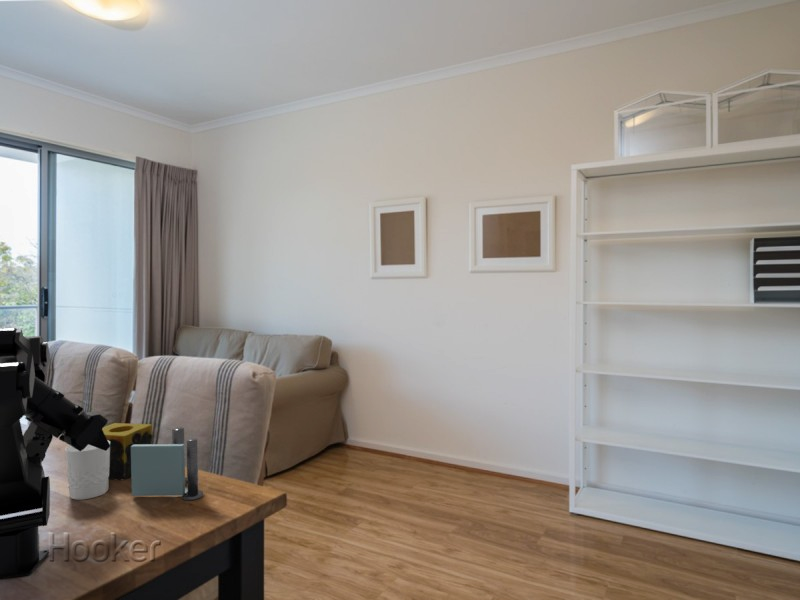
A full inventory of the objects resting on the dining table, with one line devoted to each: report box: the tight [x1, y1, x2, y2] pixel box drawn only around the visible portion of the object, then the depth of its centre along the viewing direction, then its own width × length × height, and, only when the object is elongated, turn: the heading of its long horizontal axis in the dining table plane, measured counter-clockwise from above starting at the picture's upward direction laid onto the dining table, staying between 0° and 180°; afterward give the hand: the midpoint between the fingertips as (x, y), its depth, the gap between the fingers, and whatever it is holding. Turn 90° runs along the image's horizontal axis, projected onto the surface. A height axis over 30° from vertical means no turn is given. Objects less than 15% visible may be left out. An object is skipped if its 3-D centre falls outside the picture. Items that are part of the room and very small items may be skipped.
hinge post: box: [181, 438, 204, 502], centre depth 101 cm, size 4×4×12 cm
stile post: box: [171, 426, 187, 483], centre depth 109 cm, size 3×3×12 cm
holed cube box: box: [102, 422, 153, 481], centre depth 115 cm, size 10×10×10 cm
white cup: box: [64, 440, 110, 501], centre depth 103 cm, size 8×8×10 cm
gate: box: [130, 443, 186, 497], centre depth 101 cm, size 10×1×10 cm, turn 90°
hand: (107, 448), depth 95 cm, fingers closed
